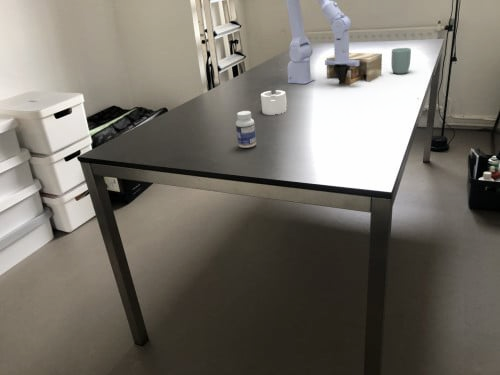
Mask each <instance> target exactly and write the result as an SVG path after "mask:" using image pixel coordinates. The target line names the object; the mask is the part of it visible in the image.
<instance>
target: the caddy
mask: <svg viewBox="0 0 500 375" xmlns="http://www.w3.org/2000/svg"><path fill="white" fill-rule="evenodd" d="M364 76H365V75H364V70H359V67H350V68H349V70H348V72H347V75H346V78H345V83H343V84H342V85H347V86H350V85H353V84H354V83H356V82H358V81H361V80H362V79H364ZM338 84H339V85H341V84H340V83H339V82H338Z"/></svg>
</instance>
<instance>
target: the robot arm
mask: <svg viewBox="0 0 500 375" xmlns="http://www.w3.org/2000/svg"><path fill="white" fill-rule="evenodd" d="M285 2H286V7H287V8H286V9H287V14H288V20H289V26H290V32H291V38H292V40H291V41H290V43H289V51H288V52H289V57H290V61H289V62H288V64H287V78H288V80H287V83H288V84H301V85H302V84H303V85H305V84H309V83H311V82H312V81H315V78H312V77H311V56H312V54H313V50H314V49H313V47H312V45H311V43H310V39H309V38H308V37H307V36H306V33H305V26H304V20H303V14H302V7H301V2H300V0H285ZM316 2H318V4H319V5H320V6H321V10H320V11H321V13H322V14H323V16H324V17H325V18H326V20H327V21H328V22H329V24H330V25H331V26H330V28H331V31H332V33H333V39H334V42H333V44H334V47H333V48H334V54H333V55H335V59H332V60H326V59H325V60H324V65H325V66H327V65H335V67H334V70H335V72H336V74H337V75H336V76H337V78H338V79H337V80H338V84H339V83H340V84H339V85H344V84H343V83H345V78H346V75H347V72H348V70H349V68H350V66H359V60H350V59H349V53H350V31H349V30H350V29H351V27H352V20H351V18H350V17H349V16H347V15H345V14H344V12H342V11H341V9H340V8H339V6H338V2H335V1H334V0H316Z"/></svg>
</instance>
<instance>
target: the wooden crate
mask: <svg viewBox="0 0 500 375" xmlns="http://www.w3.org/2000/svg"><path fill="white" fill-rule="evenodd" d="M332 59H335V54H333V55H331V56H328V57H326V59H325V60H332ZM349 59H350V60H359V66H350V67H359V70H364V76H365V75H366V82H368V83H370V82H372V81H374V80H375V79H377V78H379V77H381V76H382V71H383V70H382V67H383V62H382V61H383V60H382V59H383V53H365V52H363V53H361V52H360V53H359V52H356V53H355V52H353V53H352V52H349ZM334 67H335V65H326V79H332V78H333V77H335V76H337V74H336V72H335V70H334Z"/></svg>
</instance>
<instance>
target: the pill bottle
mask: <svg viewBox="0 0 500 375" xmlns="http://www.w3.org/2000/svg"><path fill="white" fill-rule="evenodd" d="M236 117H237V118H236V119H237V120H236V122H235V128H236V136H237V144H238V146H239V147H240V148H252V147H254V146H255V145H257V137H256V135H257V134H256V126H255V125H256V124H255V120H254V119H253V118H252V112H251V111H250V110H242V111H239V112H236Z"/></svg>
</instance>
